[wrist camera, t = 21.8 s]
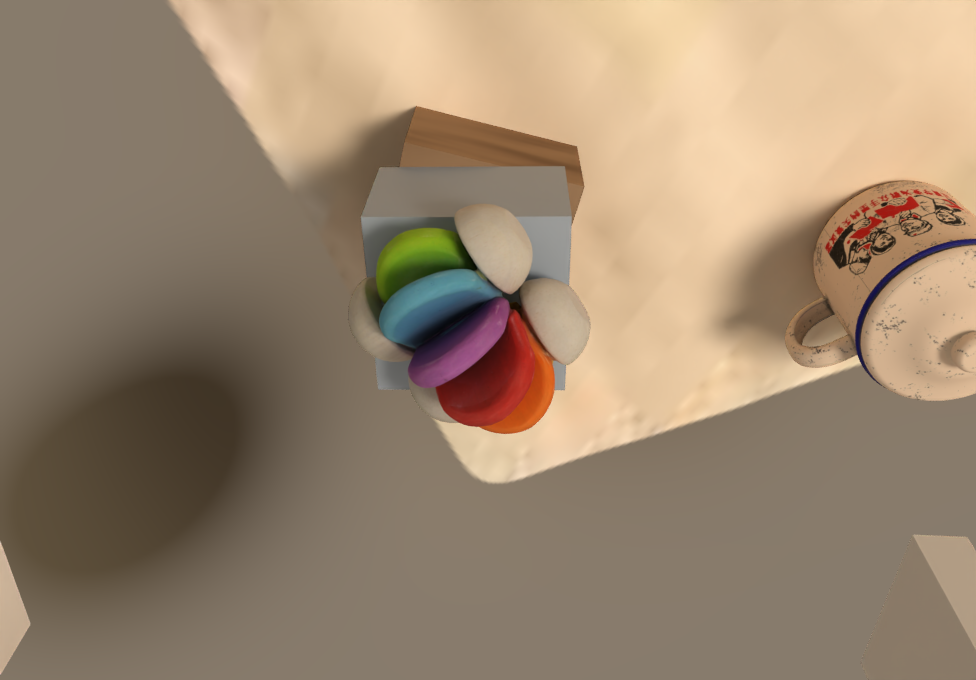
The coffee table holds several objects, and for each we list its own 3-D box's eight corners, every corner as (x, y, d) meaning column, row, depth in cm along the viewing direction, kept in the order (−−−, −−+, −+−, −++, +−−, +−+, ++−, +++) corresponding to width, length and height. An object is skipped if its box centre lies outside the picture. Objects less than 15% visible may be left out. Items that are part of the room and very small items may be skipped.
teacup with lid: (944, 144, 46) (1060, 235, 36) (988, 273, 50) (1104, 387, 40) (735, 247, 50) (790, 355, 40) (792, 360, 54) (855, 484, 44)
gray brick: (379, 167, 42) (360, 216, 37) (564, 166, 41) (571, 216, 36) (393, 325, 46) (378, 389, 41) (559, 325, 46) (564, 390, 41)
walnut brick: (416, 105, 46) (404, 142, 41) (576, 145, 47) (584, 186, 42) (386, 251, 51) (372, 301, 46) (533, 285, 52) (535, 337, 47)
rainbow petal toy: (461, 410, 42) (452, 514, 36) (328, 267, 38) (291, 356, 32) (608, 324, 39) (626, 420, 33) (481, 159, 35) (474, 233, 29)
